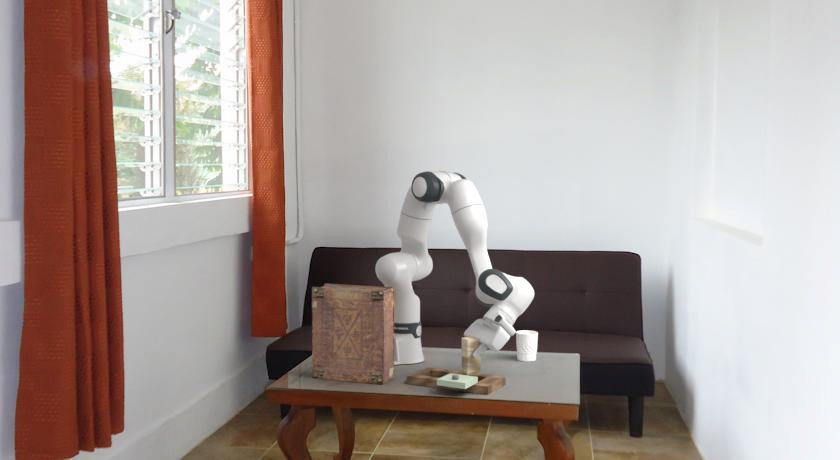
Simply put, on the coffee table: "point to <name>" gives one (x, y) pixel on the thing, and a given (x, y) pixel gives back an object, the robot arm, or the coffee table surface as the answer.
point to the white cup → (526, 345)
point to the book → (353, 333)
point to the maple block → (470, 356)
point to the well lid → (457, 381)
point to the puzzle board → (431, 375)
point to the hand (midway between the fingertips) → (469, 354)
